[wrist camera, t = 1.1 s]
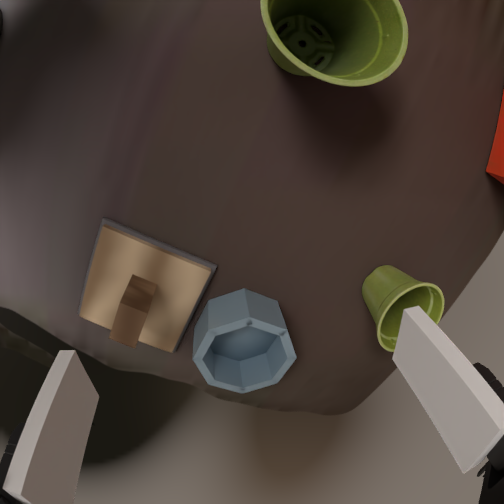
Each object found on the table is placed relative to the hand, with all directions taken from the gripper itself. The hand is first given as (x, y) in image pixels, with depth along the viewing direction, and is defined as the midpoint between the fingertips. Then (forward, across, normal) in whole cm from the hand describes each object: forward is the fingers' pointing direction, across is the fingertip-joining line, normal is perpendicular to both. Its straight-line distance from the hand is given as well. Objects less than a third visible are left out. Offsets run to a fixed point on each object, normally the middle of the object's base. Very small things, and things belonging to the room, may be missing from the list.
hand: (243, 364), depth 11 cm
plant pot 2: (+24, +20, -13) cm, 34 cm away
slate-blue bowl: (+24, 0, -16) cm, 29 cm away
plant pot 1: (+24, +10, +17) cm, 31 cm away
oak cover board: (+23, -11, -9) cm, 28 cm away
